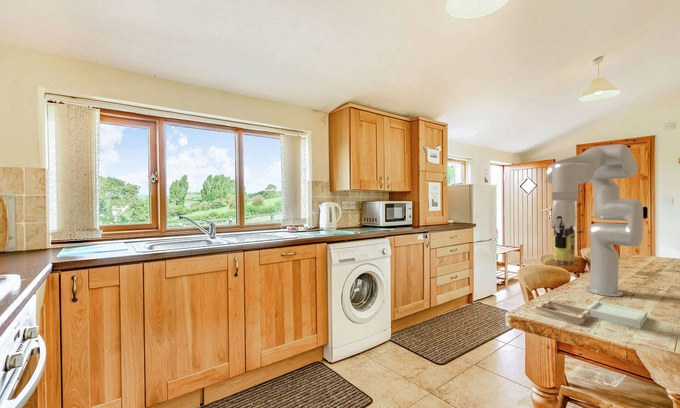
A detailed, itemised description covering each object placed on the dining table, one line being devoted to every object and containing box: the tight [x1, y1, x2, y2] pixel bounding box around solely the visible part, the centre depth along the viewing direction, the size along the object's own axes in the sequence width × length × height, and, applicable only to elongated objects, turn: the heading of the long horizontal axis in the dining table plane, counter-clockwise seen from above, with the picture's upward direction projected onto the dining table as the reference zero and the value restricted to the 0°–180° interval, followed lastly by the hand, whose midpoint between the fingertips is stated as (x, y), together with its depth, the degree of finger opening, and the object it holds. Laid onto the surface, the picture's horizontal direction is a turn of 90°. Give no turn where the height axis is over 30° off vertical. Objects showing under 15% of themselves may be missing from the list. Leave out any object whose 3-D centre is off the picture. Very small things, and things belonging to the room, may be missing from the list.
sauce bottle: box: [552, 226, 576, 267], centre depth 106 cm, size 7×6×20 cm
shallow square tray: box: [584, 300, 648, 330], centre depth 106 cm, size 14×14×2 cm
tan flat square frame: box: [534, 299, 590, 327], centre depth 107 cm, size 12×13×2 cm
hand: (564, 246), depth 107 cm, fingers closed on sauce bottle, 6 cm apart
